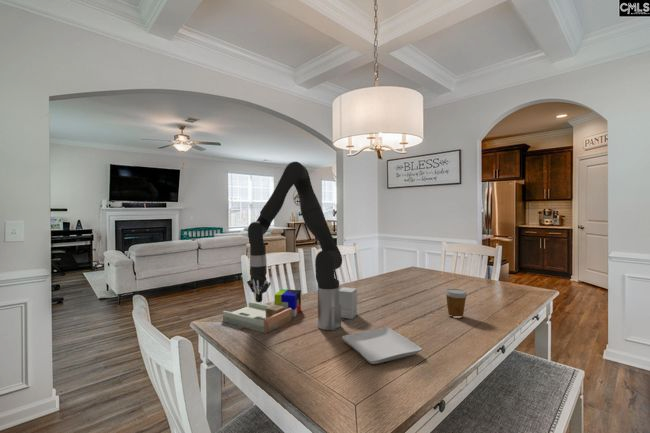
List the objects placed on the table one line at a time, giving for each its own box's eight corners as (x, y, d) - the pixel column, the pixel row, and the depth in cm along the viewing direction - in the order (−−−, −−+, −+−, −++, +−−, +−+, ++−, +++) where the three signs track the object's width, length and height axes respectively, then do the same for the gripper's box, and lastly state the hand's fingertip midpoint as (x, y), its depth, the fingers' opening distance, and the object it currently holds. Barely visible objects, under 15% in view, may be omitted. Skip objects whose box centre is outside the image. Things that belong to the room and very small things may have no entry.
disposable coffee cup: (469, 316, 145) (469, 290, 144) (462, 321, 138) (462, 295, 137) (449, 311, 151) (449, 287, 151) (441, 316, 144) (441, 291, 144)
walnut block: (284, 315, 138) (284, 306, 138) (276, 319, 133) (275, 310, 133) (274, 313, 141) (274, 304, 141) (265, 317, 136) (265, 308, 136)
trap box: (291, 320, 139) (291, 308, 139) (266, 333, 125) (266, 320, 125) (250, 310, 153) (250, 299, 153) (222, 321, 138) (222, 309, 138)
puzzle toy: (294, 316, 144) (294, 295, 144) (274, 315, 146) (274, 294, 146) (300, 309, 154) (300, 290, 153) (281, 308, 156) (281, 289, 155)
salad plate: (370, 371, 96) (370, 360, 96) (340, 344, 116) (340, 335, 116) (423, 358, 105) (423, 348, 105) (387, 334, 124) (387, 326, 124)
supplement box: (357, 314, 147) (357, 288, 147) (352, 319, 140) (352, 292, 140) (343, 312, 150) (343, 286, 150) (337, 317, 143) (337, 290, 143)
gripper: (274, 264, 141) (275, 301, 142) (253, 262, 148) (254, 298, 148) (263, 266, 135) (264, 306, 135) (241, 264, 142) (242, 302, 142)
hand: (259, 301), depth 142 cm, fingers closed
